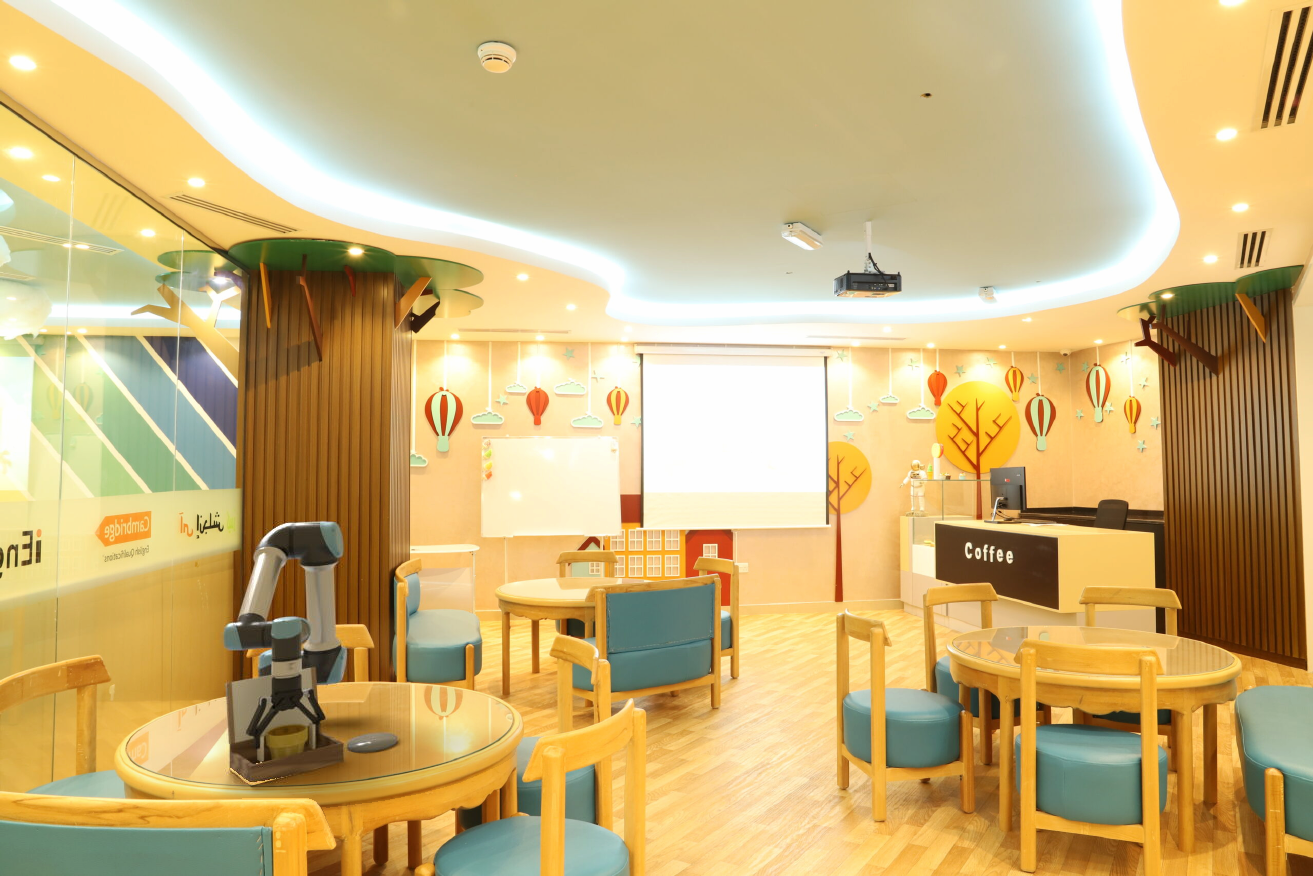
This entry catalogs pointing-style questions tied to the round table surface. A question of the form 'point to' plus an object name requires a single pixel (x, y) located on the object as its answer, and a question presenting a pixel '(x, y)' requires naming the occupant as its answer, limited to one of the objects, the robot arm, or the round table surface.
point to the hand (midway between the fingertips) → (286, 754)
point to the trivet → (372, 742)
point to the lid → (246, 700)
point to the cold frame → (284, 758)
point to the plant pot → (286, 740)
